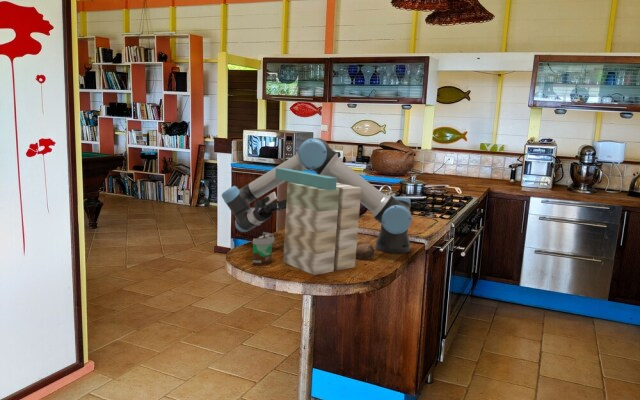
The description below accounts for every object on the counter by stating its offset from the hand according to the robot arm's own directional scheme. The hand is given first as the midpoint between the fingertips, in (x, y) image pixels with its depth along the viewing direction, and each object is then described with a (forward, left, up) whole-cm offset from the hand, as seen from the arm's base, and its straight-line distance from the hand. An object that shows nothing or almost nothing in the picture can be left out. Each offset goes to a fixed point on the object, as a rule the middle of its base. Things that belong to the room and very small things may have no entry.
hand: (289, 194), depth 190 cm
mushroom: (-30, -9, -25) cm, 40 cm away
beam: (-6, +6, +5) cm, 10 cm away
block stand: (-13, +5, -25) cm, 29 cm away
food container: (+7, +8, -25) cm, 27 cm away
